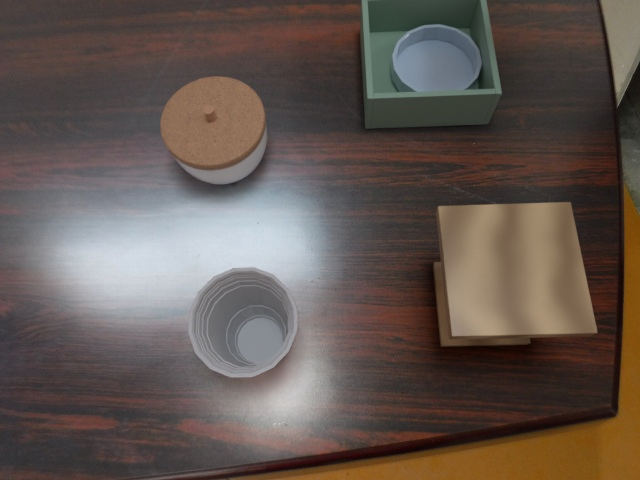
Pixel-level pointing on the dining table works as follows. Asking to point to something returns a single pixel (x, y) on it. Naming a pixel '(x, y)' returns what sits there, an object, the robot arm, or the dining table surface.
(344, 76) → the dining table surface
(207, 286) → the plastic cup
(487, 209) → the stand
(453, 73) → the light blue shallow dish
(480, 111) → the tub
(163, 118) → the lidded bowl
